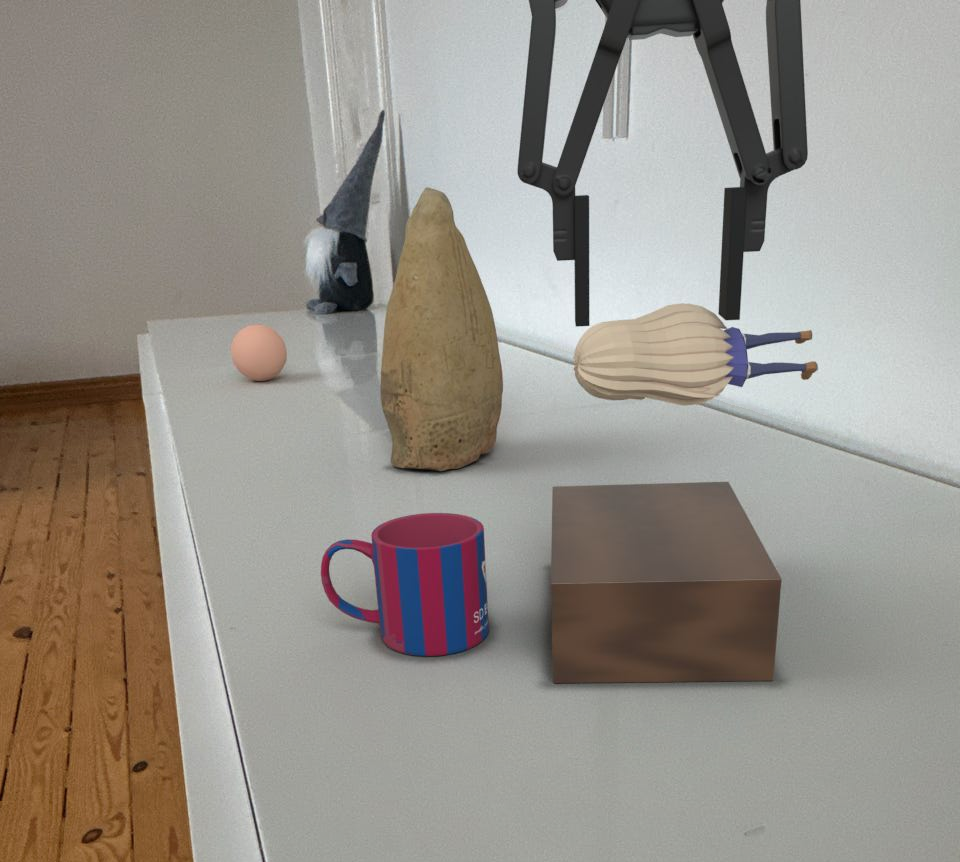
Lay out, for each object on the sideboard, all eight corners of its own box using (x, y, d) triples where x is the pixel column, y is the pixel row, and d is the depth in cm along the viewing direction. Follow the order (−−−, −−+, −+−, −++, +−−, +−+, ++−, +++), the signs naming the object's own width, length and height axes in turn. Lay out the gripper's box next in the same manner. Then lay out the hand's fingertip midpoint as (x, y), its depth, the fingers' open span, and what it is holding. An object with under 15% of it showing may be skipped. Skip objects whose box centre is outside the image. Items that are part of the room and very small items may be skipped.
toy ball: (279, 373, 152) (271, 319, 148) (298, 380, 145) (291, 323, 142) (228, 380, 148) (219, 325, 145) (246, 388, 142) (237, 330, 138)
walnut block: (723, 563, 71) (728, 481, 68) (773, 681, 54) (781, 578, 52) (554, 567, 72) (552, 486, 69) (553, 683, 55) (550, 583, 53)
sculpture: (475, 439, 108) (462, 184, 97) (525, 461, 98) (516, 182, 88) (370, 456, 103) (344, 191, 93) (411, 481, 94) (388, 190, 83)
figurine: (786, 317, 60) (554, 327, 57) (827, 286, 56) (580, 295, 52) (801, 410, 60) (569, 427, 56) (844, 386, 56) (597, 403, 52)
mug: (481, 658, 59) (475, 549, 56) (317, 655, 60) (303, 549, 57) (495, 612, 65) (490, 512, 62) (346, 611, 66) (334, 512, 63)
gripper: (871, -192, 48) (825, 303, 58) (455, -157, 50) (478, 318, 60) (922, -250, 42) (860, 321, 51) (439, -208, 43) (468, 337, 53)
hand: (655, 319), depth 55 cm, fingers closed on figurine, 7 cm apart
